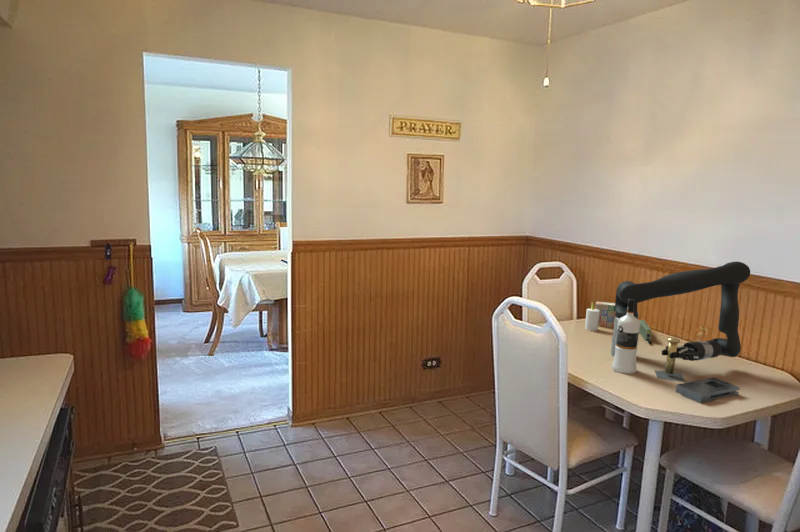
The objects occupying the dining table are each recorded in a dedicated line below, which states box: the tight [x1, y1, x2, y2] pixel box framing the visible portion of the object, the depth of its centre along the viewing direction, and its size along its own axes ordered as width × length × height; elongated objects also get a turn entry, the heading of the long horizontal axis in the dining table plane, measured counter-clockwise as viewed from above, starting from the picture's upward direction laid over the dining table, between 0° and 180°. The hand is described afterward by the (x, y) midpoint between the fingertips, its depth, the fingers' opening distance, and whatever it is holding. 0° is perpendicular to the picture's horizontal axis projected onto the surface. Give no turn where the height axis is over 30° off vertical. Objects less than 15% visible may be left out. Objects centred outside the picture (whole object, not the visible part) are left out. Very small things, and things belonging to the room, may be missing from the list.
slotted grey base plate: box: [675, 377, 740, 404], centre depth 199 cm, size 21×10×3 cm, turn 115°
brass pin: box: [664, 336, 681, 374], centre depth 215 cm, size 4×4×14 cm
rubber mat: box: [654, 369, 687, 383], centre depth 216 cm, size 10×10×1 cm
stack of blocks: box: [594, 301, 639, 329], centre depth 290 cm, size 21×6×12 cm, turn 72°
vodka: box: [611, 299, 640, 375], centre depth 219 cm, size 9×9×30 cm
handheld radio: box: [638, 319, 652, 345], centre depth 270 cm, size 7×3×25 cm
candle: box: [584, 301, 599, 332], centre depth 282 cm, size 6×6×15 cm
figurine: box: [693, 324, 709, 342], centre depth 254 cm, size 8×6×12 cm
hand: (666, 354), depth 214 cm, fingers closed on brass pin, 3 cm apart
